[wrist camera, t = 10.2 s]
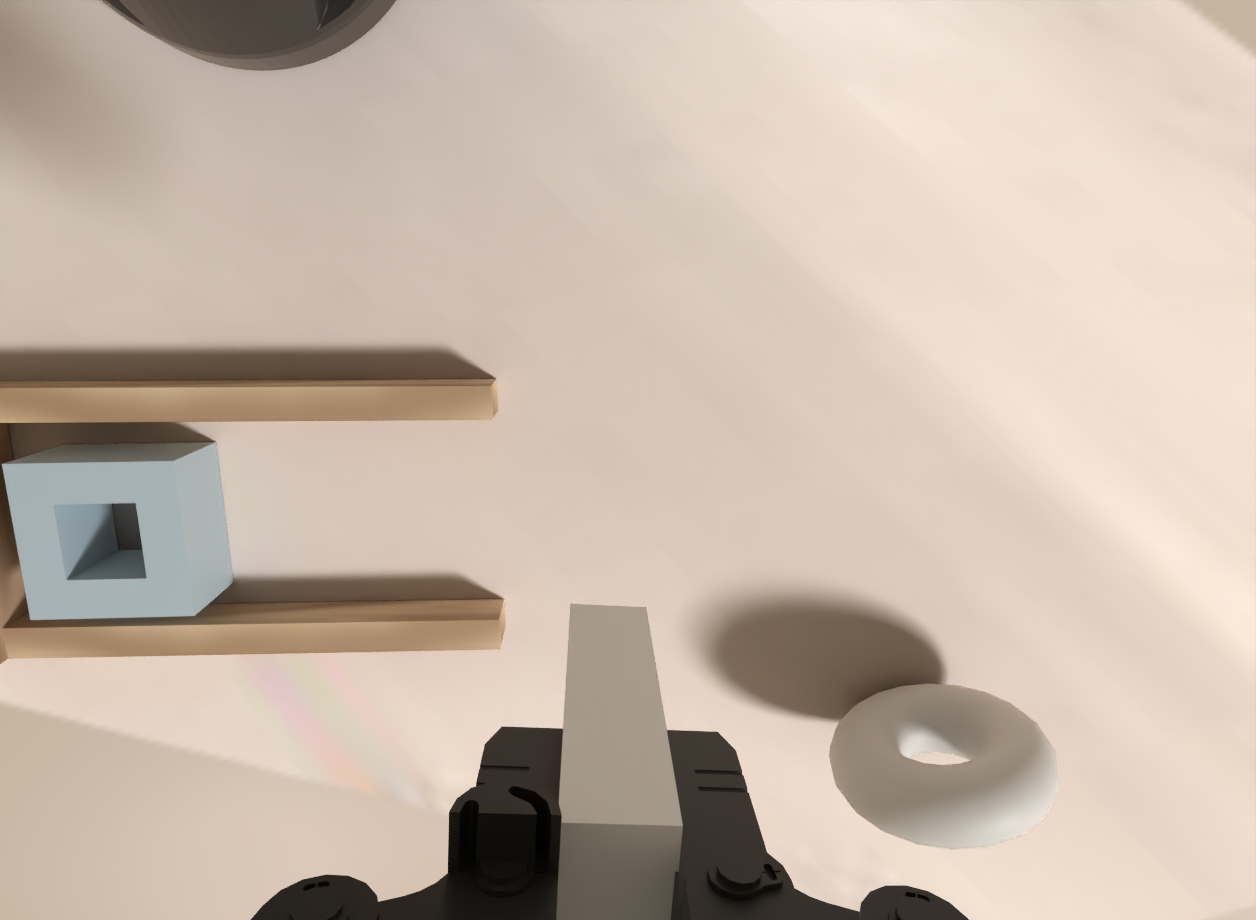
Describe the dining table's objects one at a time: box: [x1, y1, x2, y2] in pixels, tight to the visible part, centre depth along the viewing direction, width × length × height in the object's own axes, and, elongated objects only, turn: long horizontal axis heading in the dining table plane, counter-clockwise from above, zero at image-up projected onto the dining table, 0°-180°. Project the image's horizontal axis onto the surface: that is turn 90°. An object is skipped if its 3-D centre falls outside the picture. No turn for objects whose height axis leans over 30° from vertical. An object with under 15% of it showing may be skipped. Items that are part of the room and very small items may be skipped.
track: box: [0, 379, 505, 664], centre depth 37 cm, size 12×24×3 cm, turn 90°
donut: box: [829, 684, 1060, 850], centre depth 38 cm, size 10×4×10 cm, turn 100°
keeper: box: [2, 442, 233, 620], centre depth 37 cm, size 7×7×4 cm
